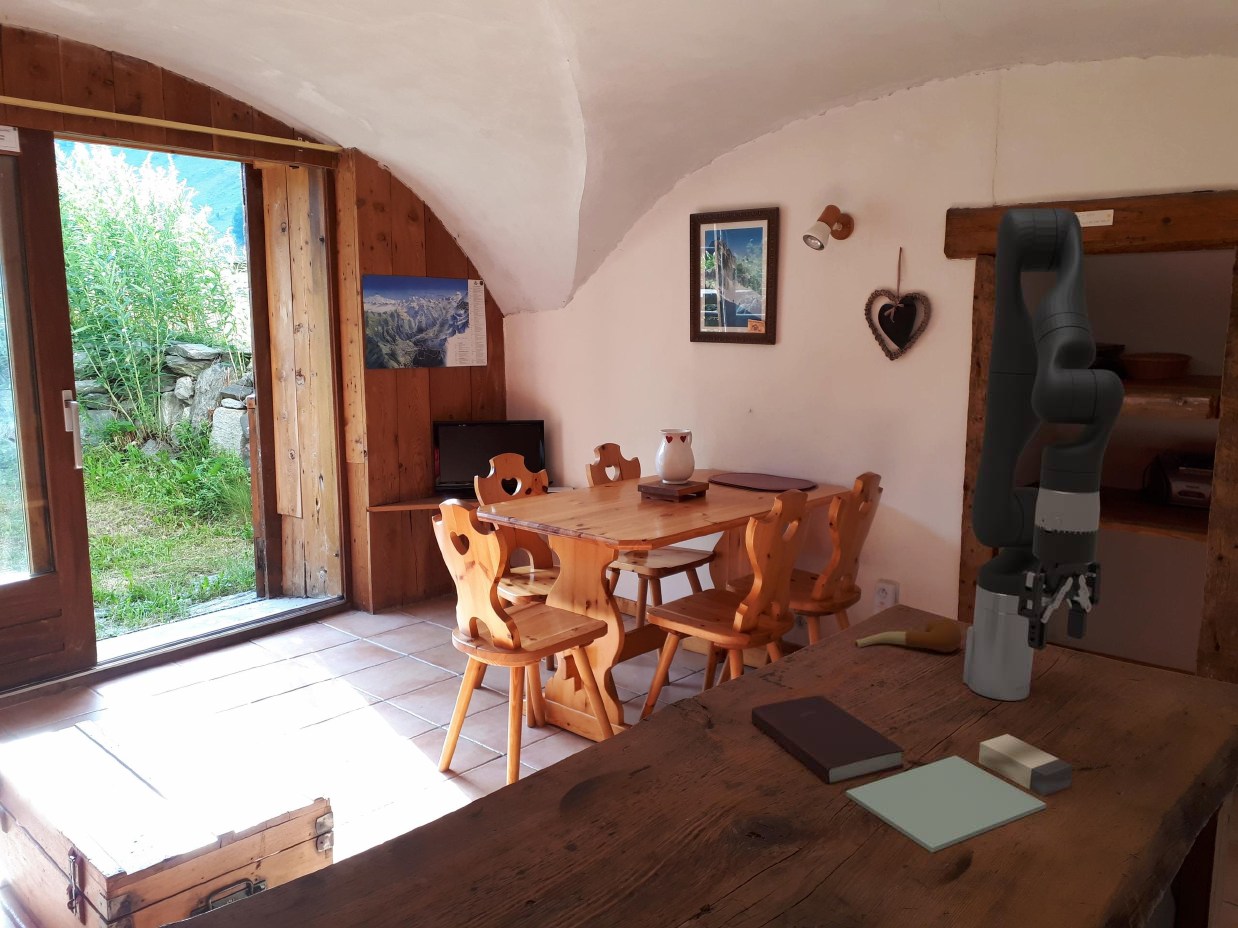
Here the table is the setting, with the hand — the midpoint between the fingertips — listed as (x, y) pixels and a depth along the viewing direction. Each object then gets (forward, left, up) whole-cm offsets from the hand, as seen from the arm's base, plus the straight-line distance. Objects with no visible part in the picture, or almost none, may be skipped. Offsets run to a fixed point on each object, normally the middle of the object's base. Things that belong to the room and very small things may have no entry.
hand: (1056, 642), depth 124 cm
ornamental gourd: (-39, +16, -18) cm, 46 cm away
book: (-19, -22, -18) cm, 34 cm away
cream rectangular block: (0, -5, -18) cm, 18 cm away
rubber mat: (0, -20, -17) cm, 26 cm away
